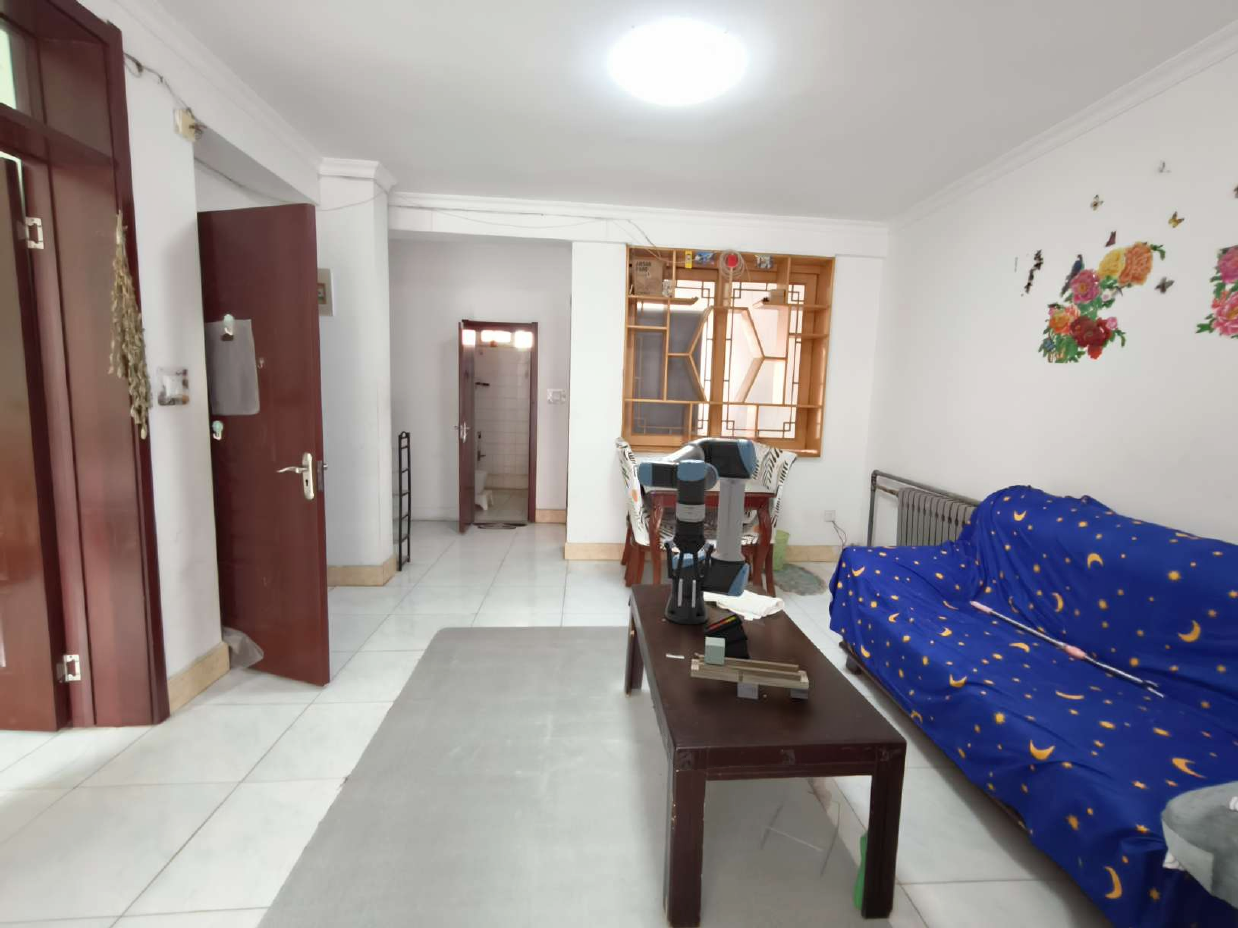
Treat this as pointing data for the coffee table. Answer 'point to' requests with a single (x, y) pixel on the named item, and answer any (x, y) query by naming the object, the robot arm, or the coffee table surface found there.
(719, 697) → the coffee table surface
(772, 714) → the coffee table surface
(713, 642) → the block
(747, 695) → the beam
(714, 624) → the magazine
